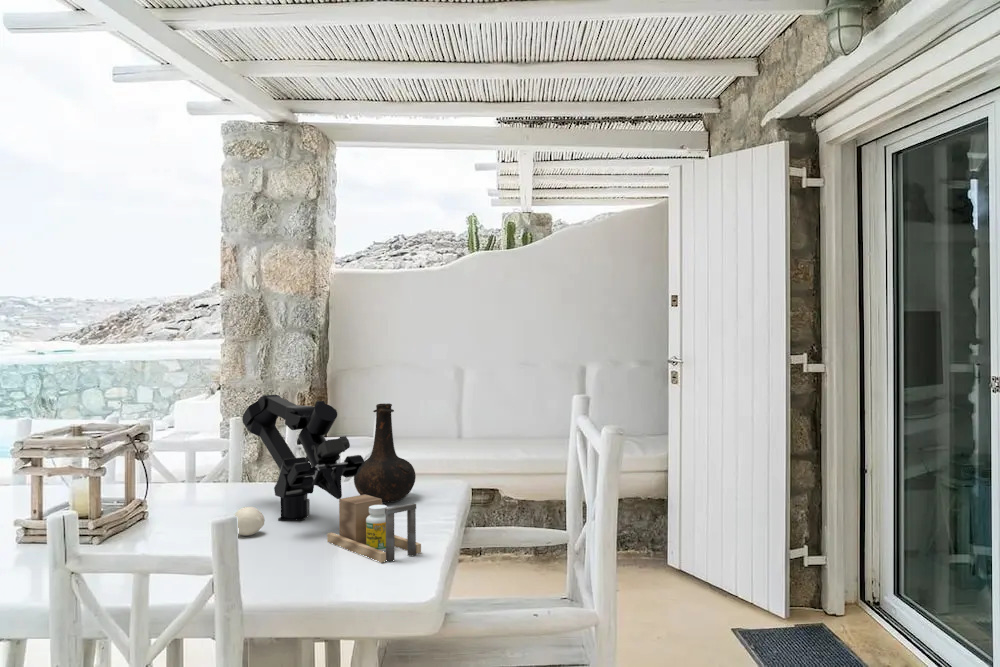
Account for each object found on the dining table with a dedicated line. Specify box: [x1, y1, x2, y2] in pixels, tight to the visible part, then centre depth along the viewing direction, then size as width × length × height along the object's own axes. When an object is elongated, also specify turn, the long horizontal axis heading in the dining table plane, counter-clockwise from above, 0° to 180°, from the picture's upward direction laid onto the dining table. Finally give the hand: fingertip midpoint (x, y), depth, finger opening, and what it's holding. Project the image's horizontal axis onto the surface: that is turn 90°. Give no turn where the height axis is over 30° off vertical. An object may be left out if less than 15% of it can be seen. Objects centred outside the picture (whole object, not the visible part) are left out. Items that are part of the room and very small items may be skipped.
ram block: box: [338, 494, 383, 545], centre depth 167 cm, size 7×7×10 cm
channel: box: [326, 503, 422, 563], centre depth 163 cm, size 23×10×11 cm, turn 43°
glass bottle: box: [353, 403, 416, 504], centre depth 211 cm, size 18×18×28 cm
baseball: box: [234, 506, 266, 537], centre depth 175 cm, size 7×7×7 cm
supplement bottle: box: [366, 504, 388, 552], centre depth 162 cm, size 5×5×10 cm
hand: (339, 497), depth 174 cm, fingers closed
